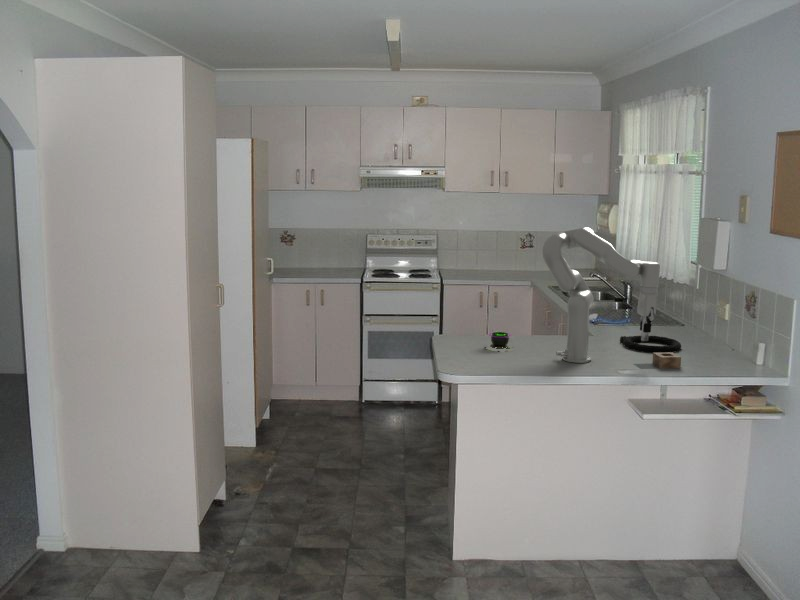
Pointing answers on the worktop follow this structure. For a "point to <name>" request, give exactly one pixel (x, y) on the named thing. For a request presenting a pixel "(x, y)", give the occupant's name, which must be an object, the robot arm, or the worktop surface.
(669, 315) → the worktop surface
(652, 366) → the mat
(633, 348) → the cable lock
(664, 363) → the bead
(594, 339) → the worktop surface
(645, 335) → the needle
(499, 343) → the toy cauldron
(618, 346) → the worktop surface
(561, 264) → the robot arm
